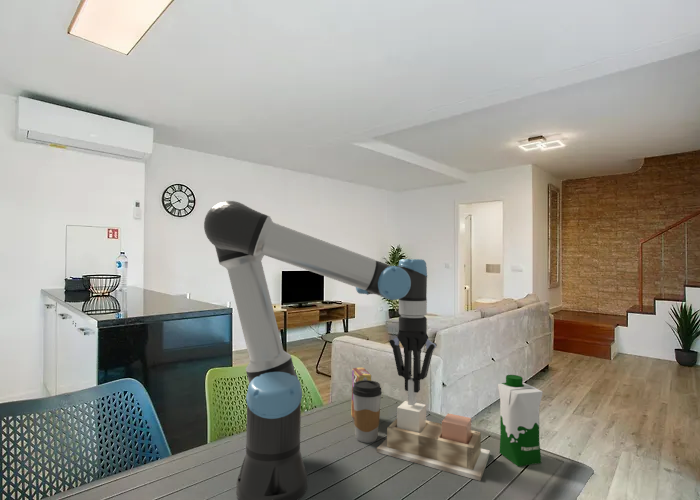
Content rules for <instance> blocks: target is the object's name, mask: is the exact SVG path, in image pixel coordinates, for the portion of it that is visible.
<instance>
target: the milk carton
mask: <svg viewBox="0 0 700 500" xmlns="http://www.w3.org/2000/svg"><path fill="white" fill-rule="evenodd" d="M497 387H498V394H499V400H500V402H499V403H500V407H499V408H500V412H499V413H500V419H499V421H500V426H499V427H500V436H499V437H500V438H499V454H501V455H502V456H503V457H504V458H506V459H507V460H508V461H510V462H511V463H512V464H514V465H515V466H516V467H524V466H531V465H537V464H538V465H539V464H542V455H541V445H540V406H541V401H542V397H543V394H544V391H543V390H540V389H538V388H537V387H536V386H532V385H531V384H528V383H525V382H523V376H521V375H516V374H508V375H505V382H502V383H498V384H497Z"/></svg>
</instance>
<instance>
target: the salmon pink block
mask: <svg viewBox="0 0 700 500" xmlns="http://www.w3.org/2000/svg"><path fill="white" fill-rule="evenodd" d="M441 424H442V438H443V439H447V440H451V441H455V442H460V443H464V444H469V442H470V440H471V430H472V417H467V416H463V415H458V414H453V413H447V414H446V415H445V416H444V418H443V419H442V420H441Z"/></svg>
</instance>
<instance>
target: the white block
mask: <svg viewBox="0 0 700 500" xmlns="http://www.w3.org/2000/svg"><path fill="white" fill-rule="evenodd" d="M396 419H397V428H401V429H405V430H409V431H413V432H417V433H421V432H422V430H423V429H424V428H425V427H426V420H427V405H426V404H424V403H419V402H417V403H415V404H414V405H413V406H412V405H408V400H404V401H403V402H402V403H400V405H399V406H397V408H396Z"/></svg>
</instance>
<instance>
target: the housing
mask: <svg viewBox="0 0 700 500" xmlns="http://www.w3.org/2000/svg"><path fill="white" fill-rule="evenodd" d="M481 437H482V432H481V431H476V430H472V429H471V440H470V442H469V444H464V443H460V442H455V441H451V440H447V439H443V438H442V422H441V423H440V422H437V421H433V420H432V421H431V420H427V419H426V427H425V428H424V429H423V430H422V432H421V433H417V432H413V431H409V430H405V429H401V428H397V418H396V419H395V420H393V422H392V423H391V424H389V426H387V428H386V439H385V440H383V442H381V444H380V445H379V446H377V447H376V453H378V454H382V455H385V456H389V457H393V458H397V459H400V460H404V461H408V462H412V463H415V464H418V465H421V466H426V467H428V468H433V469H435V470H436V469H437V470H439V471H443V472H446V473H450V474H453V475H457V476H461V477H464V478H469V479H472V480H476V481H479V482H481V481H482V478H483V475H484V472H485V470H486V466H487V464H488V461H489V459H490V455H491V450H489V449H485V448H482V445H481V444H482V439H481Z"/></svg>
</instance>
